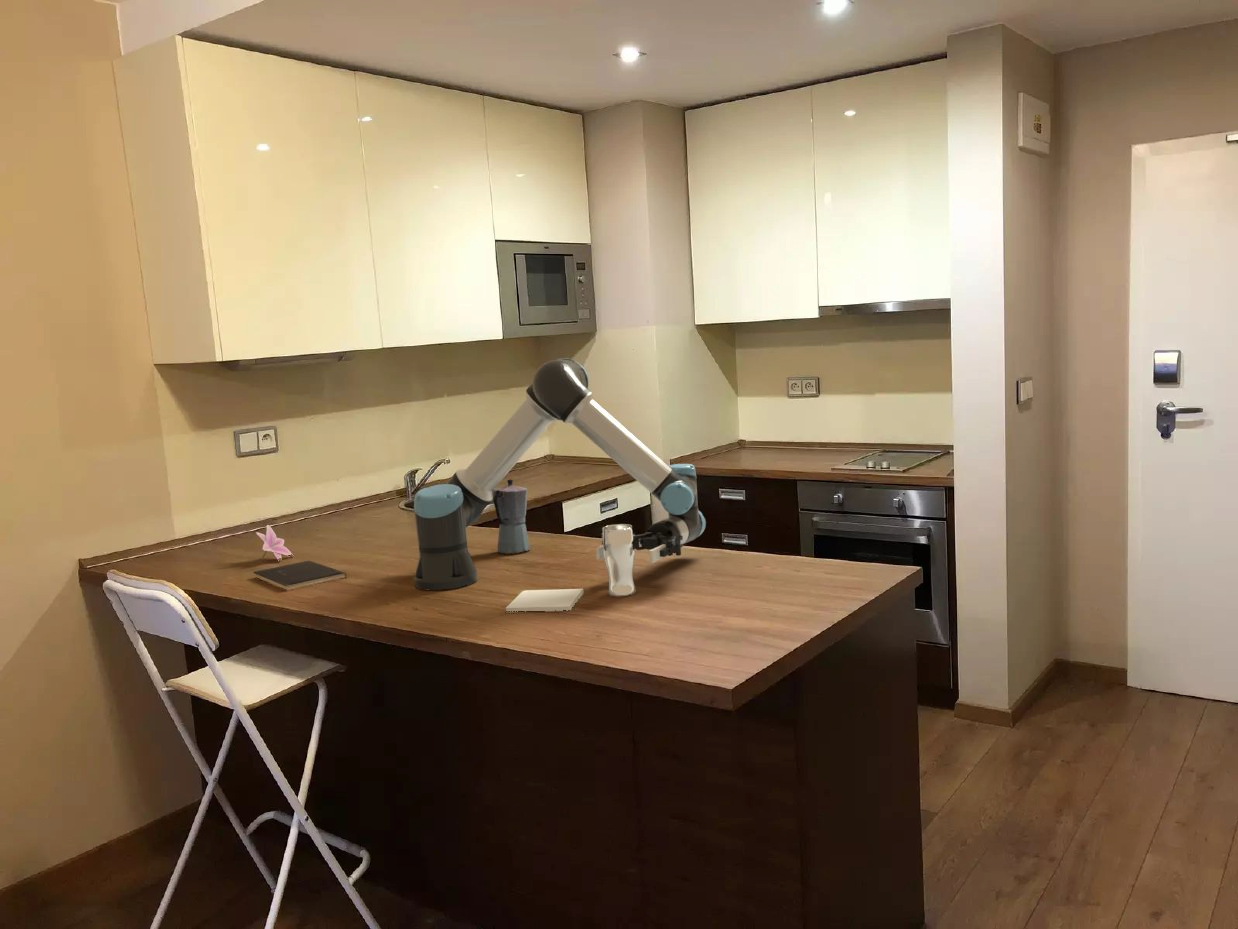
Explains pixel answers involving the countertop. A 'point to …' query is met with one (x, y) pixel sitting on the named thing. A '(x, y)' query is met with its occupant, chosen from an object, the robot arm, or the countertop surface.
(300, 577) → the hardcover book
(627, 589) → the beer glass
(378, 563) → the countertop surface
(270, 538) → the lily
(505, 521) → the moka pot
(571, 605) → the mat
